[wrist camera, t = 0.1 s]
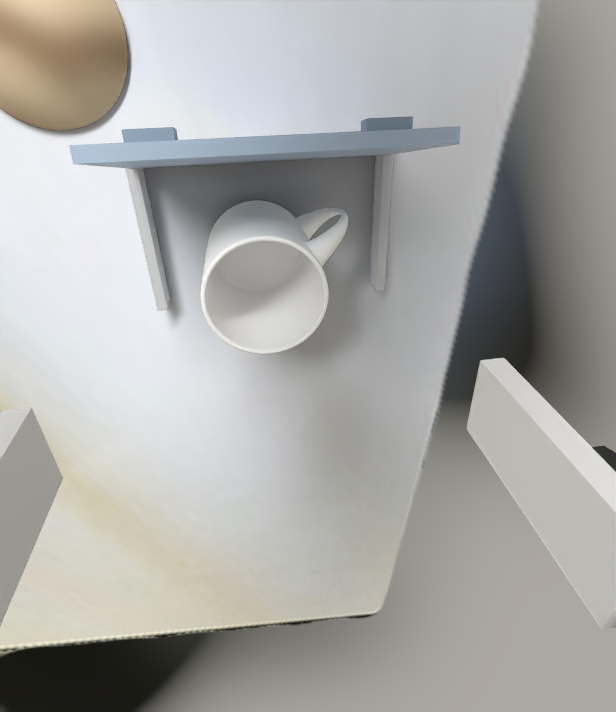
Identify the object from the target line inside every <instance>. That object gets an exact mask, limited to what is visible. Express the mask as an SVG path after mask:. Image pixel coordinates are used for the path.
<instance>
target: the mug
mask: <svg viewBox="0 0 616 712" xmlns="http://www.w3.org/2000/svg"><path fill="white" fill-rule="evenodd" d="M335 215H341V217H340V219H339V220H338V222H337V223H336V224H335V225H334V226H332V227H331V228H330V229H329V230H327V231H326V232H324V233H323V234H321V235H319V236H318V237H316V238H314V239H312V240H310V238H311V237H312V235H313V234H314V233H315V232H316V230H317V229H318V228H319V227H320V226H321V225H322V224H323V223H324V222H325V221H327V220H328V219H330V218H331V217H333V216H335ZM347 227H348V215H347V213H346V212H345V211H344V210H342V209H340V208H334V207H328V208H322V209H318V210H315V211H312V212H309V213H306V214H304V215H301V216H299V217H294V216H293V215H292V214H291V213H290V212H289V211H287V210H286V209H284V208H283V207H281V206H279V205H277V204H274V203H271V202H267V201H260V200H253V201H246V202H243V203H240V204H237V205H235V206H233V207H232V208H230V209H228V210H227V211H226V212H225V213H223V214H222V215H221V216H220V218H219V219H218V220H217V221H216V223H215V224H214V226H213V228H212V230H211V233H210V236H209V239H208V244H207V250H206V257H205V264H204V271H203V278H202V284H201V296H200V298H201V306H202V310H203V314H204V316H205V318H206V321H207V322H208V324H209V326H210V327H211V328H212V330H213V331H214V332H215V333H216V334H217V335H218V336H219V337H220V338H221V339H222V340H223V341H225V342H226V343H228V344H229V345H231V346H233V347H235V348H237V349H240V350H242V351H246V352H250V353H256V354H271V353H278V352H282V351H285V350H288V349H290V348H293V347H295V346H297V345H298V344H300V343H302V342H303V341H304V340H306V339H307V338H308V337H309V336H310V335H311V334H312V333H313V332H314V331H315V330H316V329H317V327H318V326H319V324H320V323H321V321H322V319H323V317H324V315H325V312H326V309H327V305H328V297H329V290H328V283H327V279H326V276H325V273H324V271H323V269H322V267H323V265H324V264H325V262H326V261H327V260H328V259H329V257H330V256H331V255H332V254H333V252H334V251H335V250H336V248H337V247H338V245H339V244H340V242H341V241H342V239H343V237H344V235H345V233H346V230H347Z"/></svg>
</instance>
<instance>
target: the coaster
mask: <svg viewBox="0 0 616 712" xmlns="http://www.w3.org/2000/svg"><path fill="white" fill-rule="evenodd" d="M127 66H128V46H127V39H126V33H125V29H124V25H123V21H122V19H121V16H120V13H119V10H118V8H117V6H116V4H115V2H114V0H0V109H2V110H3V111H5V112H6V113H8V114H9V115H11V116H13V117H15V118H17V119H18V120H21V121H23V122H25V123H28V124H30V125H33V126H37V127H40V128H45V129H51V130H69V129H76V128H80V127H83V126H86V125H88V124H91V123H93V122H95V121H96V120H98V119H99V118H101V117H102V116H104V115H105V114H106V113H107V112H108V111H109V110H110V109H111V107H112V106H113V105H114V104H115V102H116V101H117V99H118V97H119V95H120V93H121V91H122V88H123V86H124V83H125V78H126V74H127Z"/></svg>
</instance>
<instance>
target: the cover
mask: <svg viewBox="0 0 616 712" xmlns="http://www.w3.org/2000/svg"><path fill="white" fill-rule="evenodd" d="M412 121H413V117H391V118H369V119H365V120H363V121H361V131H360V132H339V133H318V134H297V135H276V136H255V137H235V138H214V139H193V140H178V138H177V131H176V129H175V128H173V127H168V128H146V129H124V130H122V134H123V139H124V143H109V144H88V145H69V146H70V151H71V155H72V159H73V164H80V165H93V166H106V167H119V168H128V169H139V168H158V167H176V166H195V165H213V164H232V163H250V162H269V161H287V160H306V159H325V158H343V157H362V156H380V155H392V154H396V153H402V152H409V151H415V150H422V149H429V148H435V147H442V146H448V145H455V144H459V134H460V127H443V128H422V129H412Z"/></svg>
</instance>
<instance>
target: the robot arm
mask: <svg viewBox="0 0 616 712" xmlns="http://www.w3.org/2000/svg"><path fill="white" fill-rule="evenodd" d="M467 430H468V432H469V433H470V434H471V436H472V438H473V439H474V441H475V442H476V444H477V445H478V447H479V448H480V449H481V451H482V453H483V454H484V455H485V457H486V458H487V460H488V461H489V463H490V464H491V466H492V467H493V469H494V470H495V472H496V473H497V475H498V476H499V478H500V479H501V481H502V482H503V484H504V485H505V487H506V488H507V490H508V491H509V492H510V494H511V496H512V497H513V499H514V500H515V501H516V503H517V504H518V506H519V507H520V509H521V510H522V512H523V513H524V515H525V516H526V518H527V519H528V521H529V522H530V524H531V525H532V527H533V528H534V530H535V531H536V533H537V534H538V536H539V537H540V539H541V540H542V541H543V543H544V544H545V546H546V547H547V549H548V550H549V552H550V553H551V555H552V556H553V558H554V559H555V561H556V562H557V564H558V565H559V567H560V568H561V570H562V571H563V573H564V574H565V576H566V577H567V579H568V580H569V582H570V583H571V584H572V586H573V588H574V589H575V590H576V592H577V594H578V595H579V596H580V598H581V599H582V601H583V602H584V604H585V605H586V607H587V608H588V610H589V611H590V613H591V614H592V616H593V617H594V619H595V620H596V622H597V623H598V625H599V626H600V628H601V629H608V628H614V627H616V453H615V452H613V451H612V450H610V449H608V448H607V447H605V446H598V447H591V446H590V445H589V444H588V443H587V442H586V441H585V440H584V439H583V438H582V437H581V436H580V435H579V434H578V433H577V432H576V431H575V430H574V429H573V428H572V427H571V426H570V425H569V424H568V423H567V422H566V421H565V420H564V419H563V418H562V417H561V416H560V415H559V414H558V413H557V412H556V410H555V409H554V408H552V406H551V405H550V404H548V402H547V401H546V400H545V399H544V398H543V397H542V396H541V395H540V394H539V393H538V392H537V391H536V390H535V389H534V388H533V387H532V386H531V385H530V384H529V383H528V382H527V381H526V380H525V379H524V378H523V377H522V376H521V375H520V374H519V373H518V372H517V371H516V370H515V369H514V368H513V367H512V366H511V365H510V364H509V363H508V362H507V361H506V360H505V358H498V359H490V360H481V361H480V366H479V370H478V375H477V380H476V385H475V390H474V395H473V399H472V404H471V409H470V414H469V419H468V424H467ZM62 479H63V477H62V475H61V472H60V470H59V468H58V466H57V463H56V461H55V459H54V457H53V455H52V452H51V450H50V448H49V446H48V443H47V441H46V439H45V437H44V434H43V432H42V430H41V428H40V425H39V423H38V421H37V419H36V416H35V414H34V412H33V410H32V408H25V409H16V410H6V411H2V412H1V414H0V625H1V623H2V621H3V618H4V616H5V614H6V611H7V609H8V607H9V604H10V602H11V599H12V597H13V595H14V592H15V590H16V588H17V585H18V583H19V581H20V578H21V576H22V574H23V571H24V569H25V567H26V564H27V562H28V559H29V557H30V555H31V552H32V550H33V548H34V545H35V543H36V541H37V538H38V536H39V534H40V531H41V529H42V526H43V524H44V522H45V519H46V517H47V515H48V512H49V510H50V508H51V505H52V503H53V501H54V498H55V496H56V493H57V491H58V489H59V486H60V484H61V482H62Z"/></svg>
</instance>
